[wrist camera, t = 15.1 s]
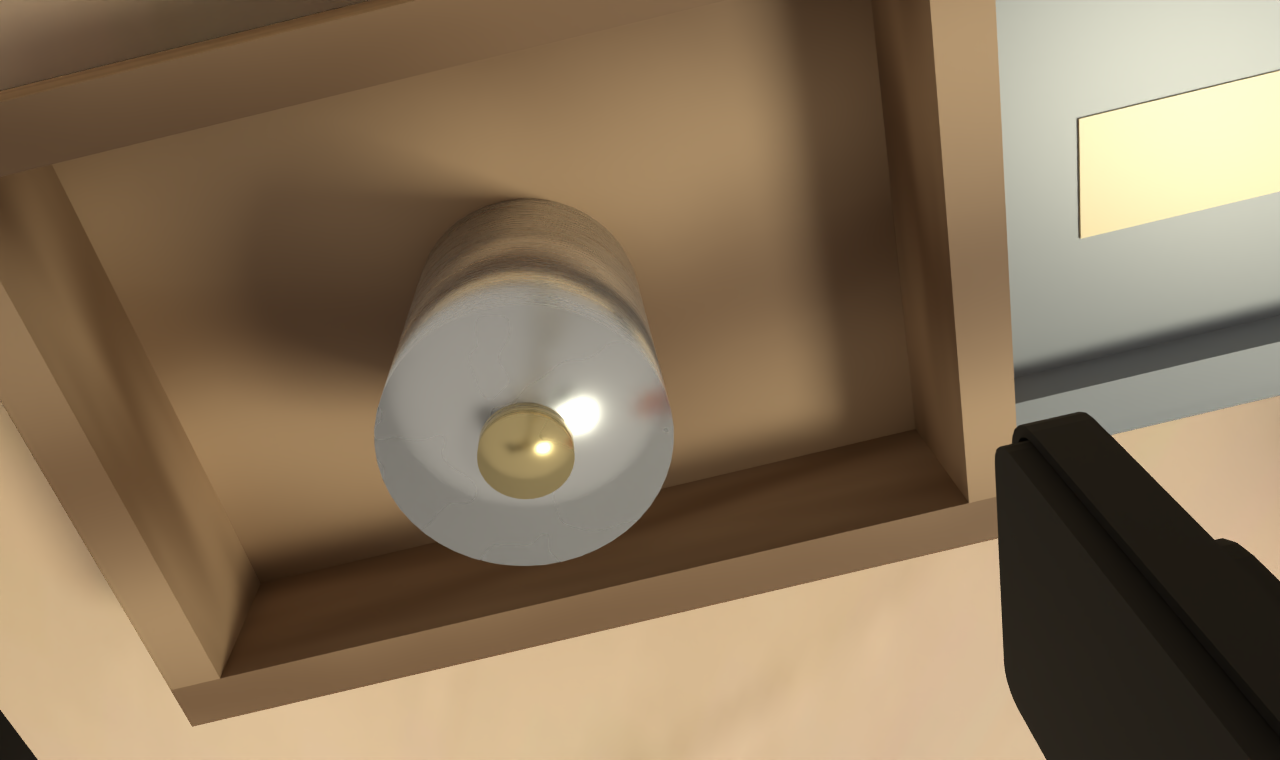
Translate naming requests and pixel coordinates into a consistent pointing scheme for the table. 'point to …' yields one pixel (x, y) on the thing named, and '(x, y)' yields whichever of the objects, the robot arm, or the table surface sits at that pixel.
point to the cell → (525, 390)
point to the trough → (390, 272)
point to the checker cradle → (1141, 205)
